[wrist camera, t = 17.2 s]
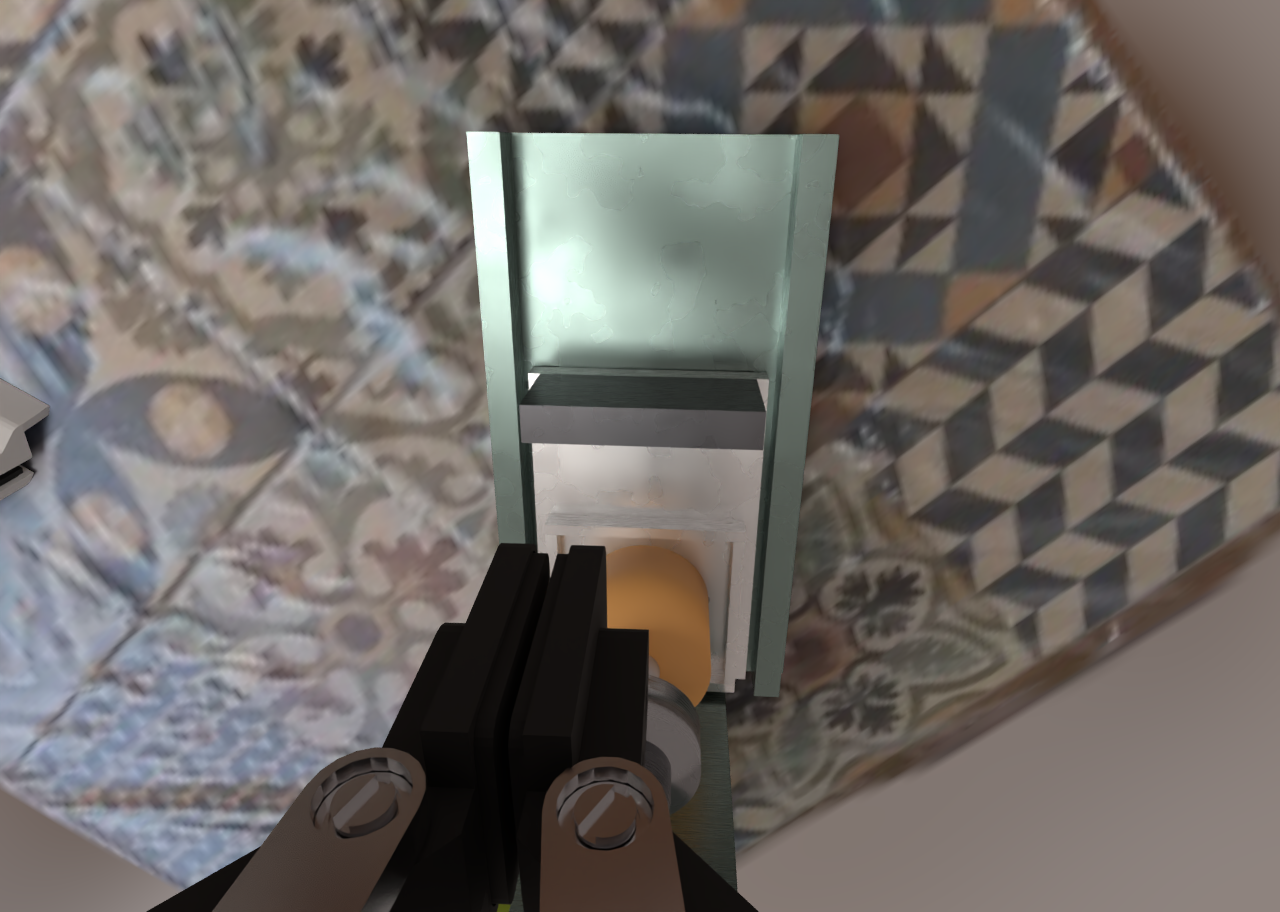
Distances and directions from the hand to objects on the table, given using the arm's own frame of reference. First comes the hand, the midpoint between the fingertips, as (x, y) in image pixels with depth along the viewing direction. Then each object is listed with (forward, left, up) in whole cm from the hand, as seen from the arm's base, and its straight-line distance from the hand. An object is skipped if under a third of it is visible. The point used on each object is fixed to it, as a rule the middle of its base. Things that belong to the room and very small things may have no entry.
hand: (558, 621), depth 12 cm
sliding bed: (+9, 0, -20) cm, 22 cm away
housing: (+13, 0, -19) cm, 23 cm away
